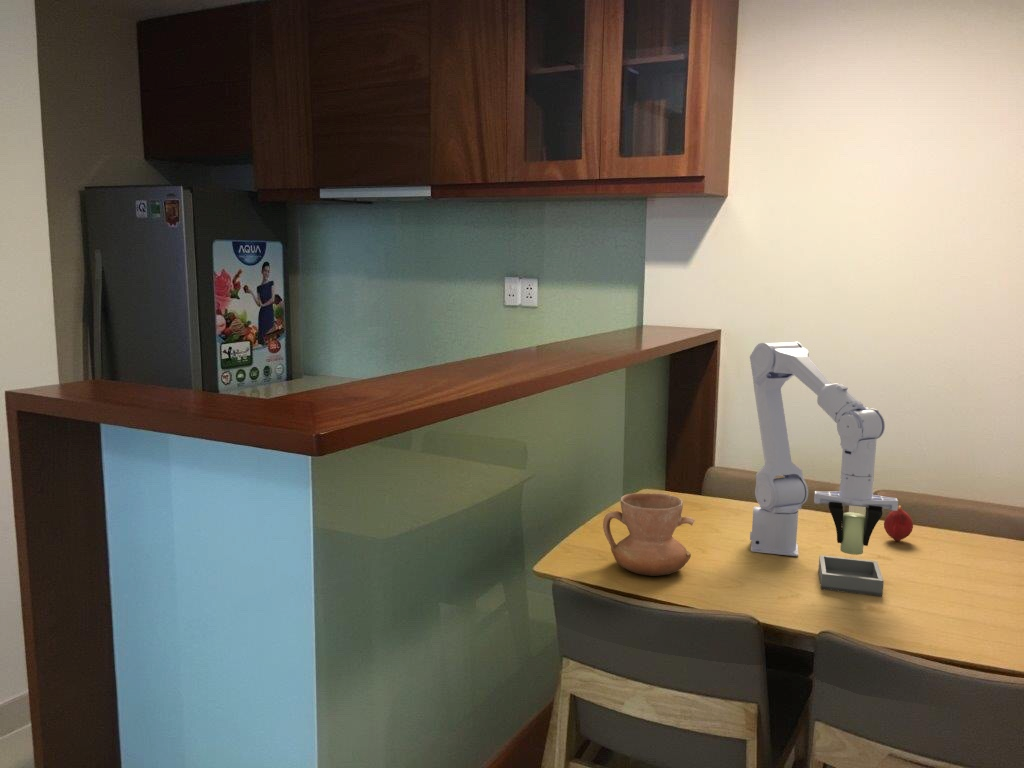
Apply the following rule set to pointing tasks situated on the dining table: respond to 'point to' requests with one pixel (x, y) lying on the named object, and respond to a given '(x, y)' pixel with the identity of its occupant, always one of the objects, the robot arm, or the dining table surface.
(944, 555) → the dining table surface
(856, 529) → the pale green cylinder
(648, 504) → the ceramic jug
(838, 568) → the tray
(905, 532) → the onion
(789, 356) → the robot arm
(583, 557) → the dining table surface
